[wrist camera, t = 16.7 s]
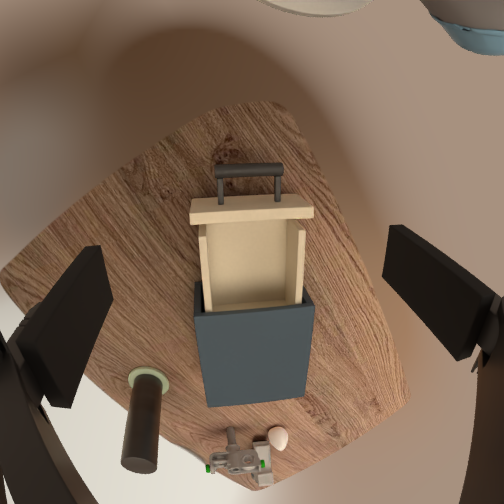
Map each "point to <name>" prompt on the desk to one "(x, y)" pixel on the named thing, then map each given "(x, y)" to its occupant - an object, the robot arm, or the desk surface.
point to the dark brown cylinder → (143, 425)
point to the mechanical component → (235, 458)
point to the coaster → (151, 371)
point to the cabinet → (253, 351)
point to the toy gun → (266, 473)
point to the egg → (278, 437)
